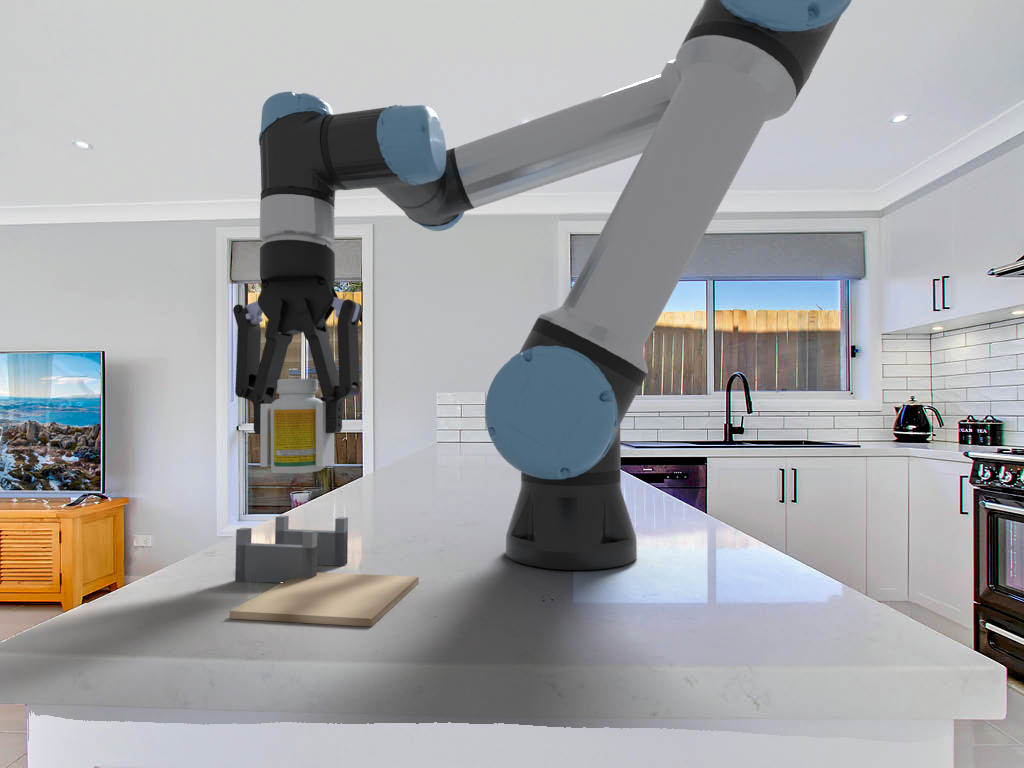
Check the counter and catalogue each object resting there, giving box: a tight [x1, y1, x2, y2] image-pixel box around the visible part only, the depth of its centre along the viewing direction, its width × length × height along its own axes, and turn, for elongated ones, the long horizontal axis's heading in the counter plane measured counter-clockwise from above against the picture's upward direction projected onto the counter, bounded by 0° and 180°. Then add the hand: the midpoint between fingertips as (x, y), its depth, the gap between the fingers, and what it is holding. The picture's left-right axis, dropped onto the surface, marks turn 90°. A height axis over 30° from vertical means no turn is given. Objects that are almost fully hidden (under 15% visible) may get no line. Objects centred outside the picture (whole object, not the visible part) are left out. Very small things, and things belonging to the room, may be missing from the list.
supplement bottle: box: [270, 378, 326, 474], centre depth 63 cm, size 5×5×10 cm
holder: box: [234, 514, 349, 583], centre depth 63 cm, size 8×8×5 cm
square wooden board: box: [229, 571, 420, 628], centre depth 54 cm, size 12×12×1 cm
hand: (297, 465), depth 63 cm, fingers closed on supplement bottle, 5 cm apart
